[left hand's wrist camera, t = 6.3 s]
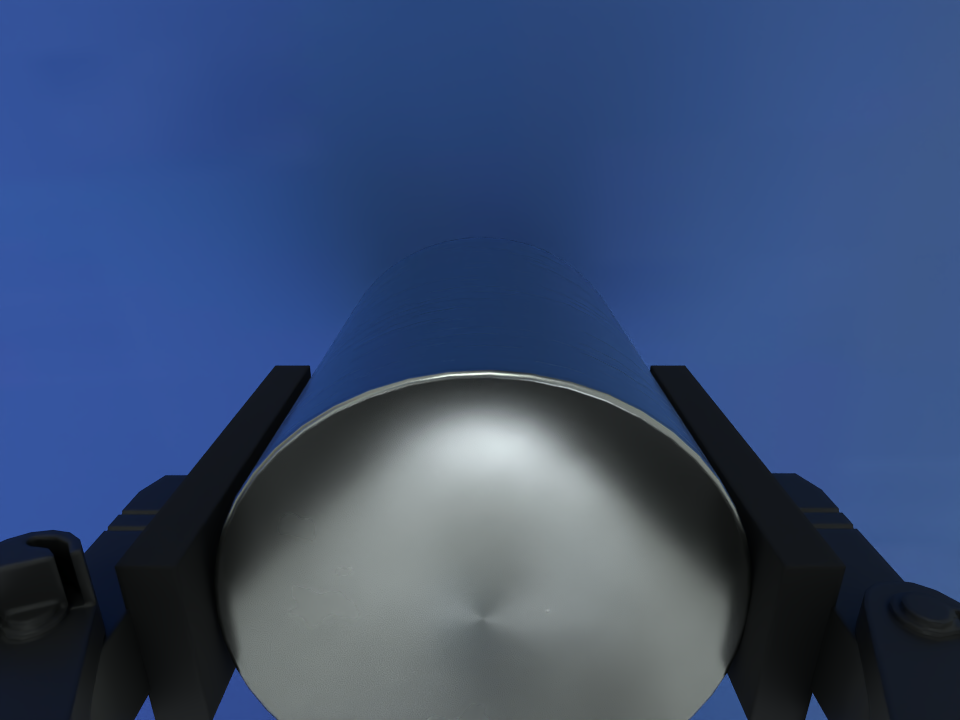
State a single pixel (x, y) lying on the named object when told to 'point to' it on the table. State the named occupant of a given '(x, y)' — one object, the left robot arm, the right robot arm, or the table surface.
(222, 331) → the table surface
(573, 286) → the can
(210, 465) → the left robot arm
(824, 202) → the table surface
